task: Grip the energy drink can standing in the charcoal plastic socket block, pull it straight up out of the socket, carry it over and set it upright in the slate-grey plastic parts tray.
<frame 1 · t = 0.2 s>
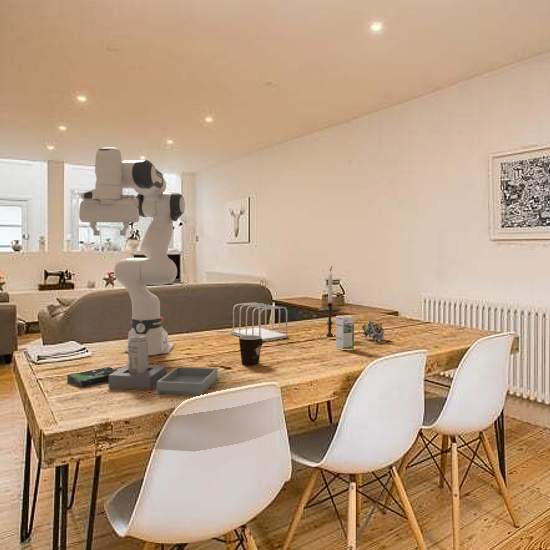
hand: (109, 235, 165), 47 cm above the table, tool pointing down, fingers open, 8 cm apart
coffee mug: (253, 363, 181), on the table
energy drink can: (138, 383, 155), resting in socket block
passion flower: (372, 341, 225), on the table
candlestick: (329, 338, 231), on the table
syrup box: (344, 349, 206), on the table
parts tray: (188, 385, 152), on the table
file sorter: (259, 337, 235), on the table
disk drive: (96, 381, 158), on the table
socket block: (138, 382, 155), on the table
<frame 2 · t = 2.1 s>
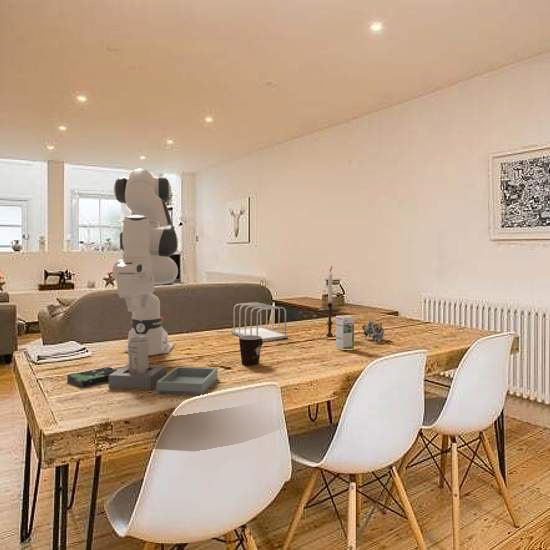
hand: (137, 309, 154), 24 cm above the table, tool pointing down, fingers open, 8 cm apart
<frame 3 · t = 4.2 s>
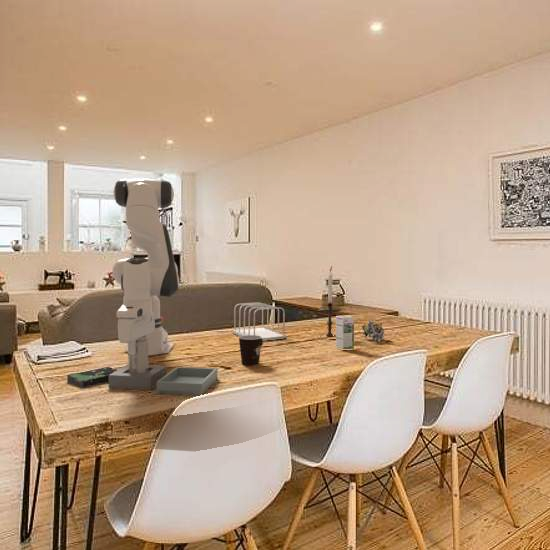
hand: (138, 351, 155), 10 cm above the table, tool pointing down, fingers closed on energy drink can, 6 cm apart
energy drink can: (138, 383, 155), resting in socket block, touching gripper
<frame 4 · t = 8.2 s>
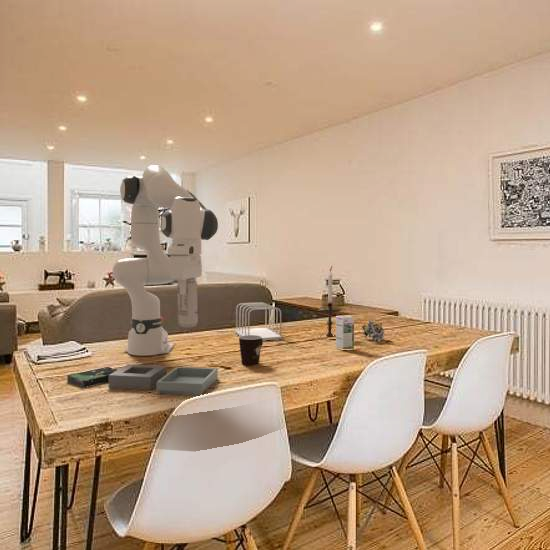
hand: (187, 293, 150), 29 cm above the table, tool pointing down, fingers closed on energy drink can, 6 cm apart
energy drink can: (188, 326, 151), point 19 cm above the table, touching gripper
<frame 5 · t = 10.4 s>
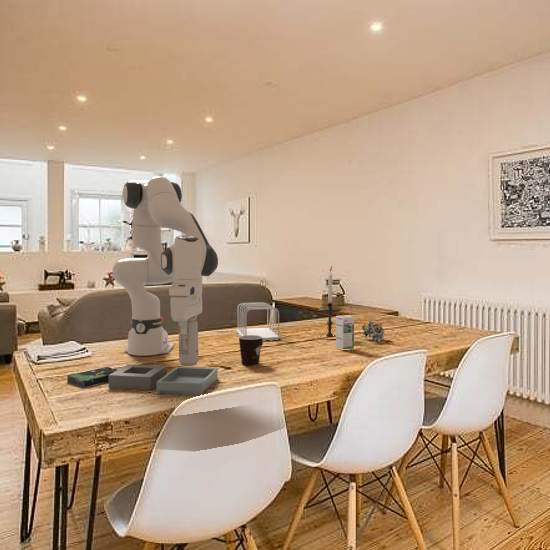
hand: (188, 331, 151), 17 cm above the table, tool pointing down, fingers closed on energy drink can, 6 cm apart
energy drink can: (188, 364, 151), point 7 cm above the table, touching gripper
when the fingers open (12 cm above the table, at t = 12.4 s): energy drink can moves 2 cm, resting on parts tray.
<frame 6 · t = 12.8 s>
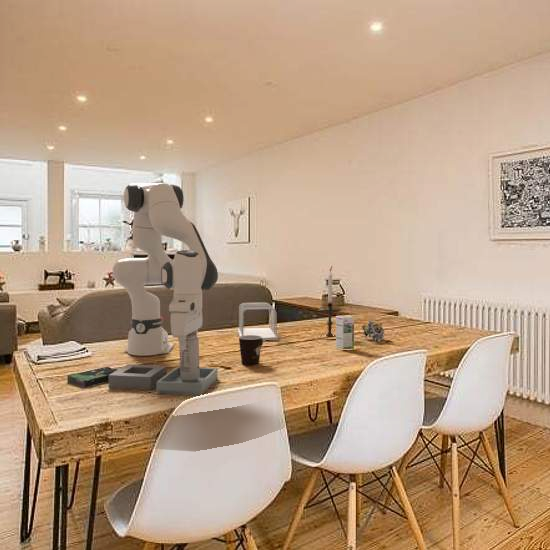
hand: (188, 346, 151), 13 cm above the table, tool pointing down, fingers open, 8 cm apart
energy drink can: (190, 380, 154), point 1 cm above the table, touching gripper, parts tray
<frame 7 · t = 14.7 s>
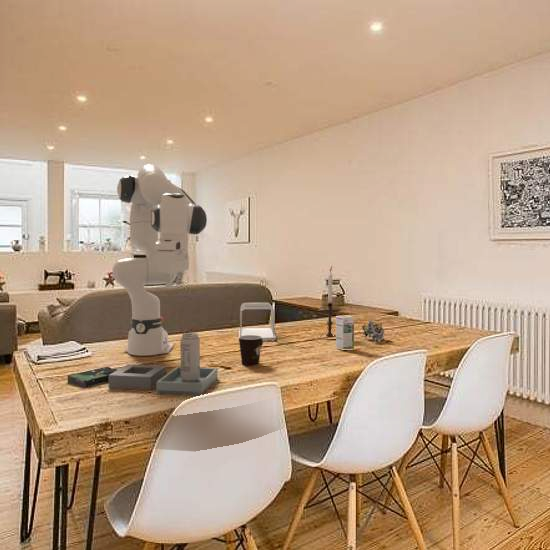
hand: (174, 286, 156), 31 cm above the table, tool pointing down, fingers open, 8 cm apart
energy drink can: (190, 381, 154), point 1 cm above the table, touching parts tray
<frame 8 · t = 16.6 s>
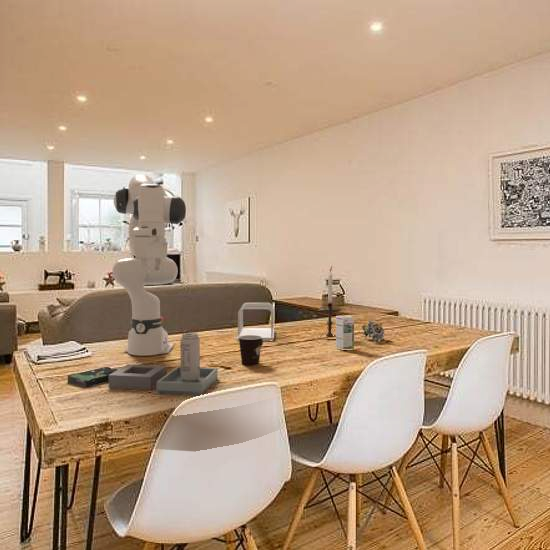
hand: (152, 271, 165), 35 cm above the table, tool pointing down, fingers open, 8 cm apart
at the end: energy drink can inside the target area on the parts tray (2.3 cm from its centre), point 0.8 cm above the parts tray's base; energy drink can tilted 0°; the gripper is holding nothing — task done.
